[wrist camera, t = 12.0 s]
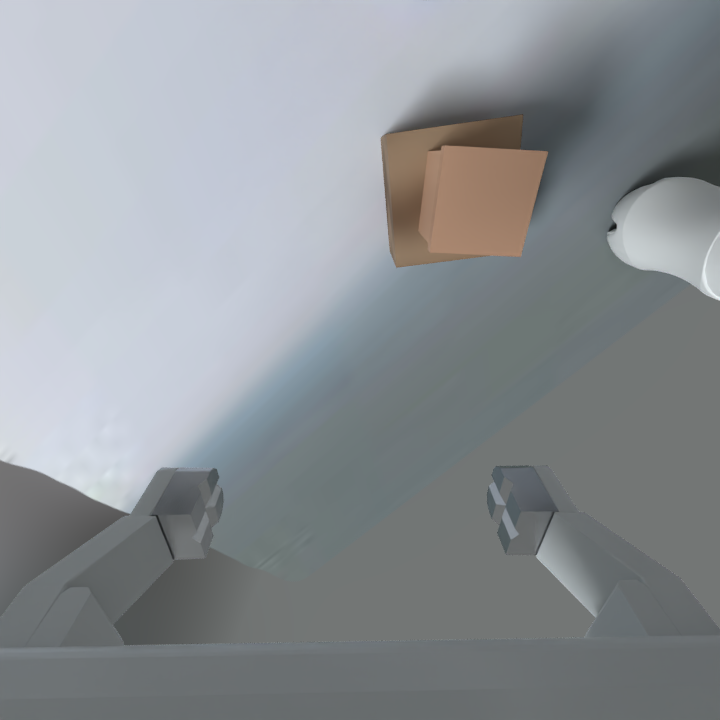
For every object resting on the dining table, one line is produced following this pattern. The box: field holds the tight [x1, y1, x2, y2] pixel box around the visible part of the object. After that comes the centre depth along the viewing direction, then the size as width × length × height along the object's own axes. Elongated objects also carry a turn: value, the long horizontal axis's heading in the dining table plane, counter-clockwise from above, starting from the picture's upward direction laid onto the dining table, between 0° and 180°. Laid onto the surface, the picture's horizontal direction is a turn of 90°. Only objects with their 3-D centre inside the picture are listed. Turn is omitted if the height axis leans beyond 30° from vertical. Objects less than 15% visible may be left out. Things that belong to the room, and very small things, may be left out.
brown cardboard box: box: [418, 145, 548, 257], centre depth 23 cm, size 6×6×6 cm
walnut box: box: [381, 114, 523, 268], centre depth 29 cm, size 9×9×6 cm
